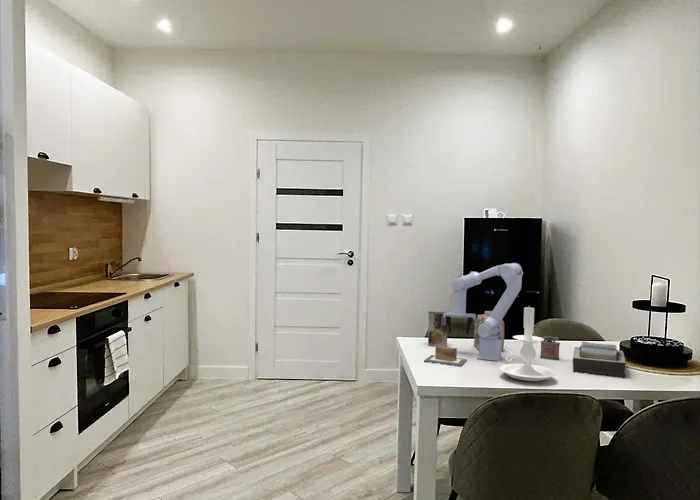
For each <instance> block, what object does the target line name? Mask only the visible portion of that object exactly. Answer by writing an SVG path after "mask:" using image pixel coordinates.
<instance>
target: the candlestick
mask: <svg viewBox="0 0 700 500" xmlns="http://www.w3.org/2000/svg"><path fill="white" fill-rule="evenodd" d="M534 325H535V308H534V307H530V306H528V307H527V306H526V307H524V308H523V328H524V330H523V331H524V334H521V335H519V334H517V335H513V336H512V338H513V339H515V340H518V341H520V342H522V343H523V345H522V347H521V348H520V351H519V355H520V358H521V359H522V360H523V361H524V363H510V362H512V361H513V358H514V357H513V352H512V350H510V349H508V348H505V347H504V350H503V351H504V354H503V355H504V360H505V361H506V364H503V365H500V366H499V370H500V371H501V372H502V373H504V374H506V376H509V377H511V378H513V379H516V380H519V381H526V382H541V381H545V380H548V379H550V378H552V377H554V376H556V375H557V373H556V371H555V370H553V369H551V368H549V367H545V366H542V365H536V364H531V363H532V361H533V360H534V359H535V358H536V354H537V353H536V350H535V347H534V343H537V342H541V341H544V337H540V336H536V335H533V334H534V333H535V332H534V331H535V330H534V328H535V327H534ZM507 354H509V359H508V356H507Z"/></svg>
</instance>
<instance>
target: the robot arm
mask: <svg viewBox="0 0 700 500" xmlns="http://www.w3.org/2000/svg"><path fill="white" fill-rule="evenodd" d="M523 275H524V272H523V268H522V266H521V265H520V264H519V263H517V262H512V263H504V264H499V265H496V266H493V267H491V268H488V269H486V270H484V271H481V272H478V271H473V270H472V271H470V272H469V273H468V274H466V275H461V276H460V277H457V278H456V277H455V278H454V279H453V280H451V288H452V290H453V296H452V297H453V298H452V299H453V300H452V301H453V303H452V304H453V305H452V312H447V313H443V317H446V321H447V328H448V332H449V334H452V328H451V327H452V319H454V318H456V319H457V318H458V319H466V332H465V333H466V335H469V331H470V328H471V325H472V323H473V322H474V320H475V319H476V317H477V315H476V313H468V312H467V311H466V310H467V290H468V289H469V288H472V287H475V286H477V285H481V283H482V281H483V280H486V279H488V278H492V277H495V276H498V277H500V276H501V278H502V280H503V281H504V282H505V284H506V289H505V291H504V292H502V295H501V297H500V299H499V300H498V302H497V304H495V306H494V308H493V310H491V311H492V313H491V315H490V316H489V317H488V318H487V319H486V320H485V321H484V323H483V324H481V325H480V326H479V327H478V329H477V332H478V335H479V336H480V346H479V350H478V351H479V353H478V356H477V357H476V359H478V360H486V361H496V362H499V361H501V359H502V355H503V353H502V352H501V351H502V341H501V340H500V339H497V337H496V335H497V334H498V333H499V328H500V326H501V320H502V319H504V317H505V316H506V314H507V312H508V310H509V309H510V307H511V306H512V305H513V302H514V301H515V299H516V298H517V297H518V295H519V293H520V291H521V289H522V283H523V282H522V281H523V279H522V278H523ZM451 318H452V319H451Z"/></svg>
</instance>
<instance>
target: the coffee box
mask: <svg viewBox="0 0 700 500" xmlns="http://www.w3.org/2000/svg"><path fill="white" fill-rule="evenodd" d="M443 313H448V312H447V311H428V317H427V318H428V322H427V323H428V327H427V329H428V330H427V340H428V341H427V345H428V347H438V346H445V347H448V324H447V321H446V317H443Z"/></svg>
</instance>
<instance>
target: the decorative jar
mask: <svg viewBox="0 0 700 500" xmlns="http://www.w3.org/2000/svg"><path fill="white" fill-rule="evenodd" d="M492 311H493V310H485V311H484V313H483V314H477V315H476V317H475V319H474V336H473V341H474V342H473V344H474V345H473V346H474V347H475V348H476V349H477V350H478V351H479V346H480V336H479V335H478V332H477V329H478V327H479V326H480V325H481V324H483V323H484V321H485V320H486V319H487V318H488V317H489V316H490V315H491V313H492ZM503 319H504V318H503ZM503 319H502V320H501V326H500V328H499V333H498V334H497V335H496V337H497V339H500V340H501V341H502V351H501V353H502V352H504V351H505V350H504V348H505V346H504V344H505V321H504V320H503Z"/></svg>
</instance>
